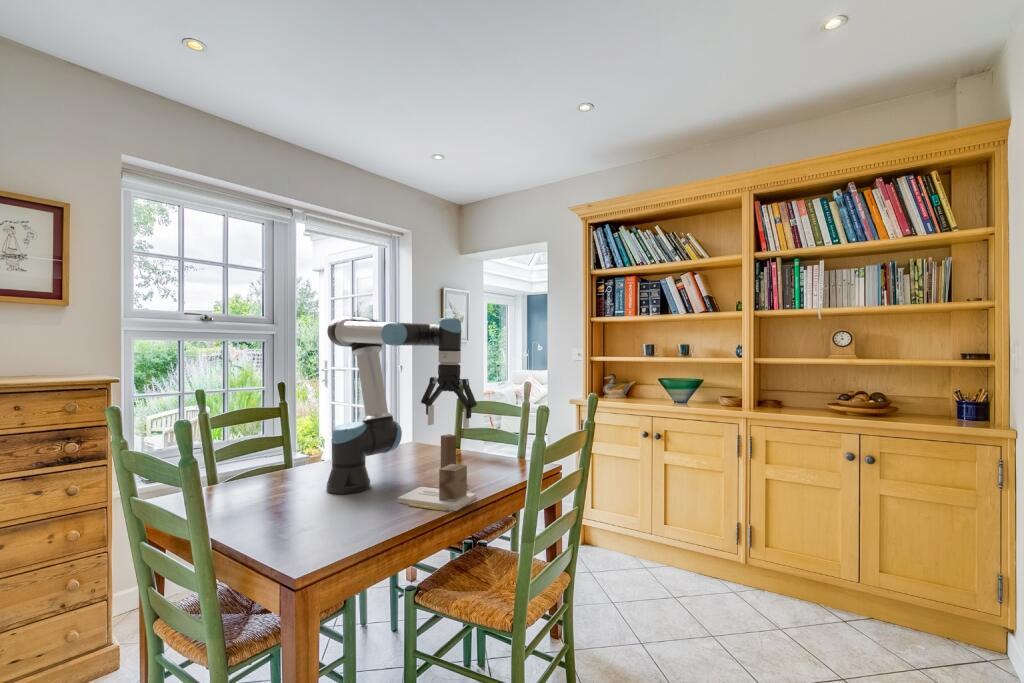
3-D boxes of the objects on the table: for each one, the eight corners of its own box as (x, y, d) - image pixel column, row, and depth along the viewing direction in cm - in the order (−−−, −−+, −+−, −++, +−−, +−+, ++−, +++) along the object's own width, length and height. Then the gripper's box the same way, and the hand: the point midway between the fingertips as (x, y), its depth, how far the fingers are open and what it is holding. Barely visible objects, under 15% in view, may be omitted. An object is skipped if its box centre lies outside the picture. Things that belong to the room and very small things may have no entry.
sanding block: (439, 499, 160) (439, 469, 160) (451, 493, 167) (451, 463, 167) (455, 502, 158) (455, 471, 158) (466, 495, 165) (466, 465, 165)
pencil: (408, 506, 158) (408, 503, 158) (409, 505, 159) (409, 503, 159) (448, 512, 153) (448, 509, 153) (449, 511, 154) (449, 508, 154)
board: (397, 502, 162) (397, 497, 162) (420, 491, 175) (420, 486, 175) (456, 510, 154) (456, 505, 154) (475, 498, 167) (475, 493, 167)
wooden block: (462, 485, 182) (463, 437, 182) (452, 487, 179) (452, 438, 179) (450, 480, 189) (450, 434, 189) (440, 482, 186) (440, 435, 187)
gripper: (411, 362, 167) (410, 424, 167) (477, 365, 157) (476, 431, 157) (423, 362, 174) (422, 421, 174) (487, 364, 164) (486, 427, 164)
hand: (448, 426), depth 166 cm, fingers open, 13 cm apart
